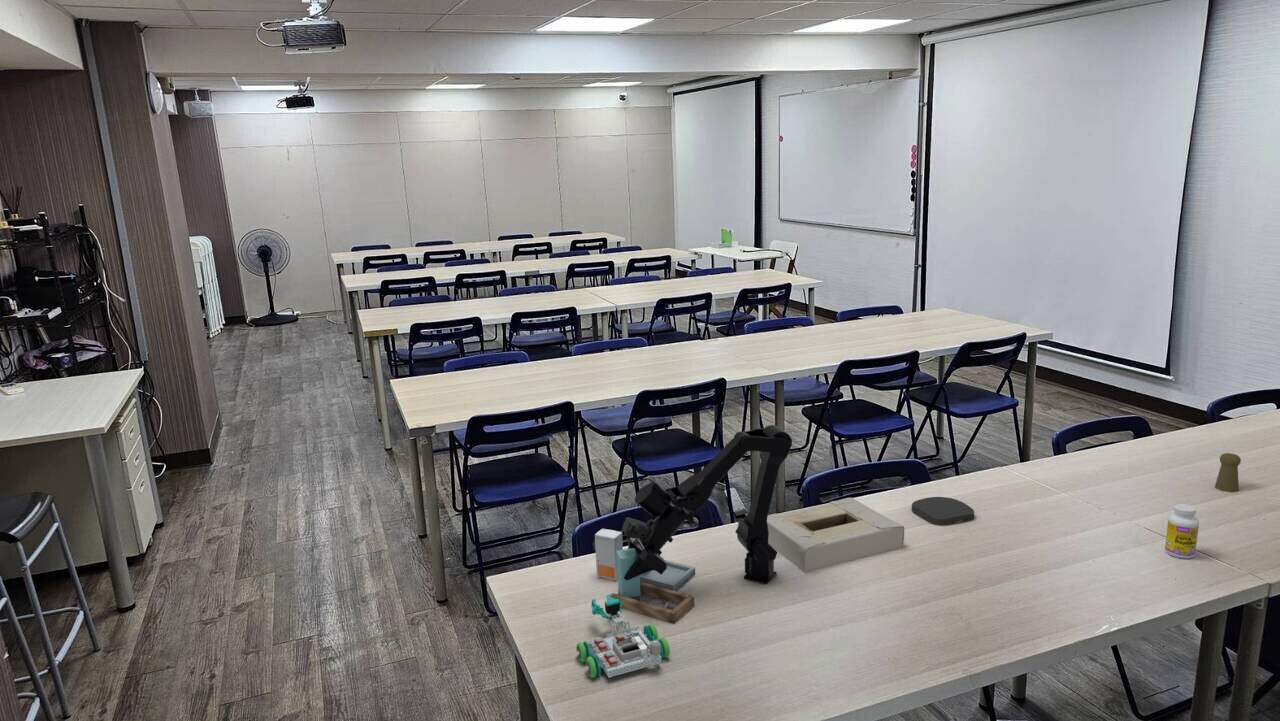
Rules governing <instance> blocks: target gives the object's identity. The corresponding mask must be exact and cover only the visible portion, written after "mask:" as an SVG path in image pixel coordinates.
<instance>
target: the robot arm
mask: <svg viewBox="0 0 1280 721" xmlns="http://www.w3.org/2000/svg"><path fill="white" fill-rule="evenodd" d="M792 445H793V439H792V437H791V435H790V434H789V433H787V432H786V431H785V430H784V429H782V428H780V427H779V426H777V425H774V424H770V425H767V426H766V427H761V428H753V429H750V430H746V431H737V432H736V433H735V434H734V435H733V438H732V439H731V440H730V441H729V442H727V444H726V445H725V446H724V447H723V448H722V449H721V450H720V451H718V453H717V455H716V456H714V457H713V459H712V460H711V461H709V462H708V464H706V465H705V466H704V468H703V469H702V470H700V471H699V472H697V473H695V474H692V475H691V476H689V477H688V478H686V479H685V480H684V481H682V482H681V483H679V485H676V486H673V487H669V488H665V489H663V488H662V487H661V486H660V485H659V484H658V483H657V482H656V481H655V480H652V481H651V482H650V483H647V484H645V485H644V486H642V487H640V488H639V490H638V491H637V493H636V495H635V496H634V502H635V504H637V505H638V506H639V507H641V508H642V509H643V510H644V511H645V512H646V513H648V514H649V515H650V516H652V517H656V516H657V517H656V518H655V519H654V520H653V518H651V519H648V520H647V521H646V522H644V521H641V520H638V519H636V518H631V517H628V516H627V517H625V520H624V522H623V525H622V528H621V530H622V531H623V532H624V533H623V534H624V535H625V536H626V540H627V546H628V548H627V549H632V548H634V549H635V550H636V560H635V561H634V563H633V564H632V566H631V567H630V569H629V570H628V571H627V573H626V575H625V576H624V579H625V580H630V579H632V578H634V577H637V576H639V575H641V574H644V573H646V572H649V571H652V570H654V571H655V570H656V571H657V572H658V573H659V574H661V575H662V574H663V573H664V571H665V570H666V569H667V564H666V562H665V561H664V560H665V559H664V557H663V556H661V554H662V553H663V552H662V550H661V549H662V548H663V547H664V546H665V545H666V544H667V542H669V543H672V542H673V541H674V538H673V535H675V533H676V532H677V531H678V530H679V529H680V527H681V526H682V525H683V524H684V523H685V521H687V522H689V524H691V525H695V521H694V520H695V519H694V512H695V511H697V512H698V511H699V510H701V509H702V508H704V506H705V505H706V503H707V502H708V500H709V499H710V497H712V496H711V495H712V493H713V490H714V488H715V487H716V485H717V484H718V483H719V482H720V481H721V480H722V478H724V477H725V475H726V474H727V473H728V472H730V471H731V470H732V468H733V467H734V466H735V465H736V464H737V463H739V461H741V459H742V458H743V457H744V455H746V454H747V453H748V452H759V454H760V464H759V468H758V473H757V477H756V482H755V484H754V489H753V494H752V499H751V502H750V506H749V512H748V514H747V515H746V516H745V518H741V517H739V518H738V522H737V523H738V524H737V528H736V529H735V530H734V532H735V534H736V538H737V540H738V542H739V543H740V544H741V546H742V547H743V548H745V550H746V551H747V552H746V553H745V554H746V555H745V556H746V557H745V558H744V573H745V574H744V575H743V579H744V580H748V581H752V582H756V583H759V584H764V585H767V584H768V583H770V582H771V580H773V578H774V577H775V576H777V572H776V571H775V563H774V562H775V560H776V558H777V555H778V552H777V551H776V550H775V549H774V548H773V547H772V546H771V545H770V544H769V543H768V537H769V531H768V524H767V517H768V515H769V512H770V507H771V504H772V499H773V495H774V491H775V486H776V484H777V483H776V482H777V477H778V475H779V469H780V468H781V465H782V464H783V462H784V461H785V460H786V458H788V455H789V453H790V450H791V448H792Z"/></svg>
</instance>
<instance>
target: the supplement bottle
mask: <svg viewBox="0 0 1280 721" xmlns="http://www.w3.org/2000/svg"><path fill="white" fill-rule="evenodd" d="M1173 511H1174V513H1171V514H1169V516H1168V518H1167V525H1166V526H1167V527H1166V534H1165V543H1164V544H1165V545H1164V551H1165V552H1166V554H1168V555H1169V556H1171V557H1174V558H1177V559H1183V560H1184V559H1188V560H1189V559H1193V558H1194V557H1195V556H1196V550H1197V543H1198V542H1197V541H1198V536H1199V535H1198V534H1199V527H1200V522H1199V519H1198V518H1197V517H1196V514H1197V513H1196V512H1197V509H1196V508H1195V506H1193V505H1188V504H1184V503H1179V504H1175V505H1174V506H1173Z"/></svg>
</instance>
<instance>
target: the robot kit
mask: <svg viewBox="0 0 1280 721" xmlns="http://www.w3.org/2000/svg"><path fill="white" fill-rule="evenodd" d="M610 595H611V594H606V596H605V597H606V598H605V599H606V601H604V607H601V605H600V604H597V601H596V599H595V598H593V599H591V603H590V604H591V605H590V606H591V612H592V615H594V616H595V615H599V616H601V617H602V618H604V619H606V620H607V622H608V624H609V626H611V633H606V635H605V637H604V638H603V637H601V636H598V637H597V636H596V637H595V639H594V640H593V641H592V640H588V642H587V641H586V640H585V641H583V642H582V641H578V642H577V644H576V655H577V657H578V660H579V662H581V663H582V664H583V663H585V666H586V667H585V670H586V671H587V674H588V676H589V677H590V679H595V678H596V676H597V677H600V676H601V672H602V671H601V669H602V670H603V671H604V673H605V674H606V675H607V677H608V678H612V677H616V676H619V675H623V674H626V673H631V672H634V671H638V670H641V669H645V668H647V667H648V668H649V667H652V666H656V665H659V664H662V659H663V658H665V659H668V658H669V657H670V653H671V650H670V649H671V647H670V644H669V641H668V640H667V639H666V637H660V638H659V634H658V633H659V632H658V629H657V627H656V626H655V625H654V624H653V623H648V624H646V625H644V626H643V631H641V629H640V626H639V625H638V626H635V627H631V622H630V620H626V621H625V620H623V619H622V616H621V615H622V614H623V610H622V609H623V608H621V607H622V602H621V601H620V600H618V599H616V598H615V597H613V596H610ZM619 626H621V627H622V628H623V629H622V630H617V628H618V627H619Z"/></svg>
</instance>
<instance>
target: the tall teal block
mask: <svg viewBox="0 0 1280 721" xmlns="http://www.w3.org/2000/svg"><path fill="white" fill-rule="evenodd" d="M616 555H617V575H618V580H617V594H618V595H621V596H625V597H628V598H632V599H635V600H638V601H642V596H641V593H640V575H639V576H637V577H634V578H632V579H630V580H625V579H624V576H625V575H626V573H627V571H628V570H629V569H630V567H631V566H632V564H633V563H634V561H635V560H636V550H635V549H634V548H632V549H628V548H627V549H623V550H619V551H616Z"/></svg>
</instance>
